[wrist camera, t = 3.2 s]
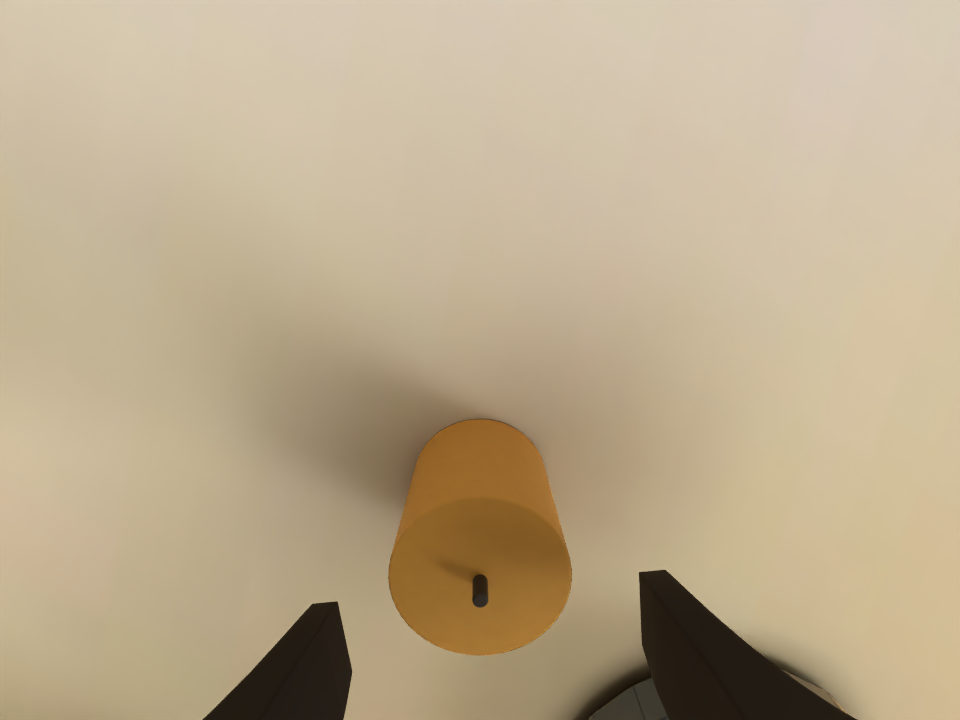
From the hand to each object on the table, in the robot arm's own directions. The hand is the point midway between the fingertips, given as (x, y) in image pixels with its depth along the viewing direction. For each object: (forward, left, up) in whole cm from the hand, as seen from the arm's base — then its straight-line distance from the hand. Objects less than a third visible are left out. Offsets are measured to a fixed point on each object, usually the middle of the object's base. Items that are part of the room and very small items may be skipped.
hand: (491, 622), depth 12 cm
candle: (0, 0, -7) cm, 7 cm away
